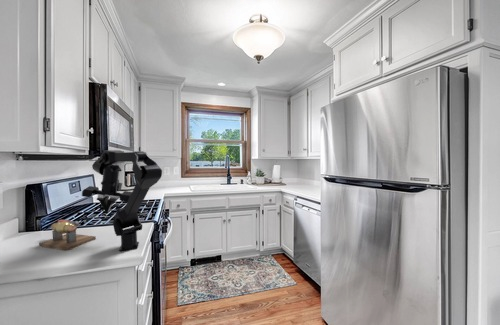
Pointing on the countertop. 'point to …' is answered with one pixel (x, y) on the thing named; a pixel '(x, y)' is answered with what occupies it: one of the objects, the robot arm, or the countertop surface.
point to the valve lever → (69, 222)
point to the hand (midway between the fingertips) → (107, 212)
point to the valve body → (64, 231)
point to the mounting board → (66, 246)
